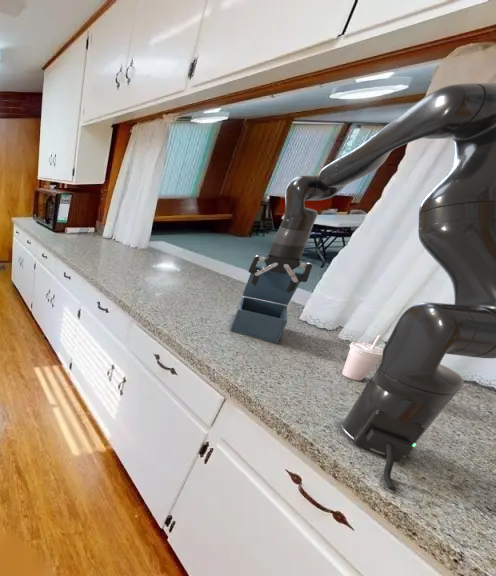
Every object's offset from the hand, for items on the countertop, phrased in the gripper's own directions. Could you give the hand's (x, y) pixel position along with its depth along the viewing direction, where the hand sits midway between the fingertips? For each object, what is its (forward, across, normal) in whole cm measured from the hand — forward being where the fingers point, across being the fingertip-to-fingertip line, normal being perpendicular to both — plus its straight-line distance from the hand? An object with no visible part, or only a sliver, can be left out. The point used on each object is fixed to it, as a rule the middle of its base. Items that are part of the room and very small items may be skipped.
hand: (271, 288), depth 100 cm
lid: (+1, 0, +5) cm, 5 cm away
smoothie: (+17, +22, -14) cm, 31 cm away
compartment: (+17, 0, +2) cm, 17 cm away
